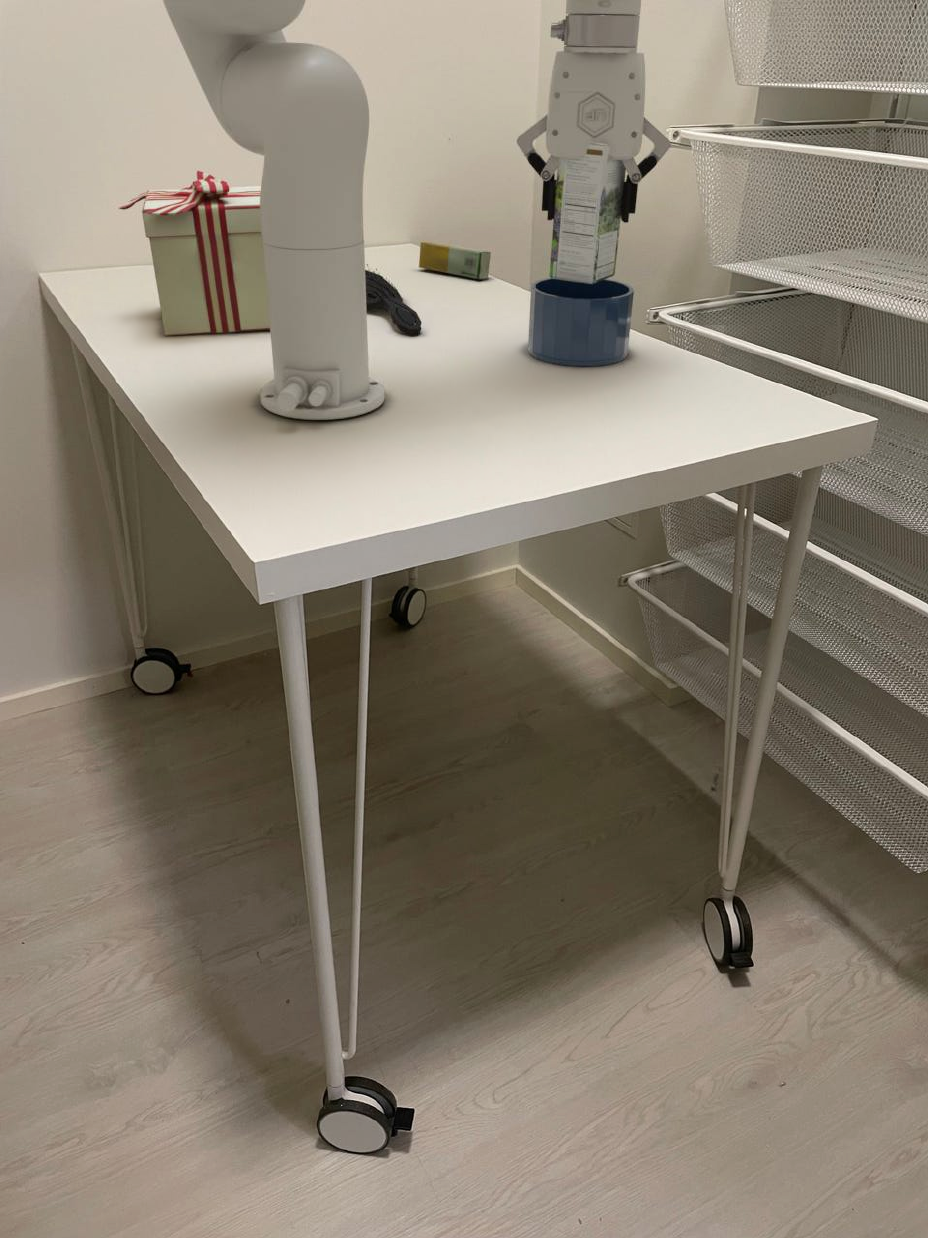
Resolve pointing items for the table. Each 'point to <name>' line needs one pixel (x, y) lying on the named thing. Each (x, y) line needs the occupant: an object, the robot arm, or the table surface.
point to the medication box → (455, 260)
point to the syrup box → (587, 216)
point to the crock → (580, 322)
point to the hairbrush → (390, 303)
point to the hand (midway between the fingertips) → (587, 218)
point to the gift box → (207, 256)
